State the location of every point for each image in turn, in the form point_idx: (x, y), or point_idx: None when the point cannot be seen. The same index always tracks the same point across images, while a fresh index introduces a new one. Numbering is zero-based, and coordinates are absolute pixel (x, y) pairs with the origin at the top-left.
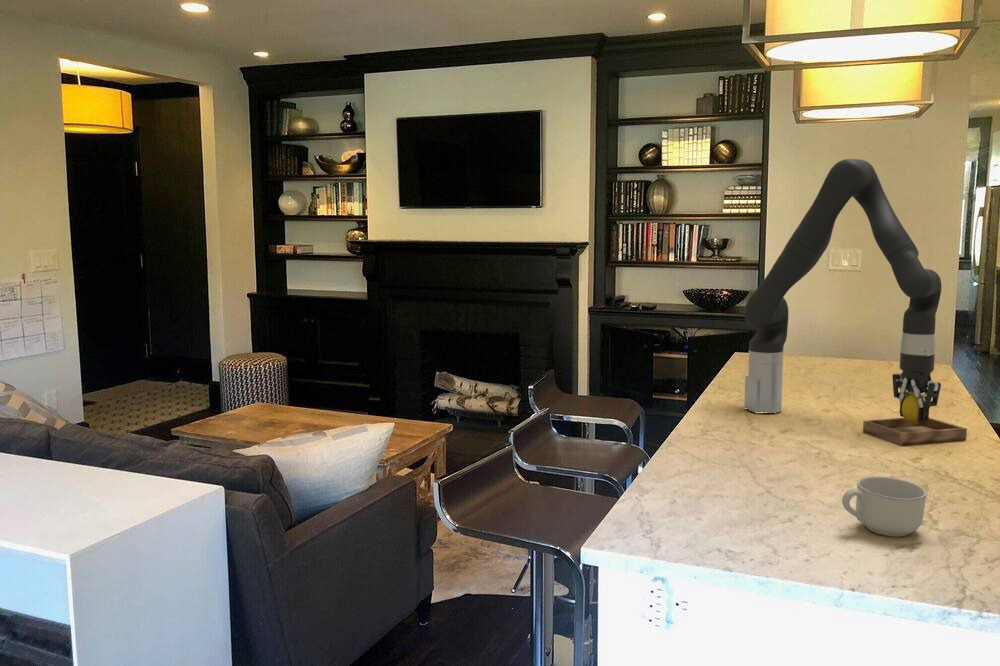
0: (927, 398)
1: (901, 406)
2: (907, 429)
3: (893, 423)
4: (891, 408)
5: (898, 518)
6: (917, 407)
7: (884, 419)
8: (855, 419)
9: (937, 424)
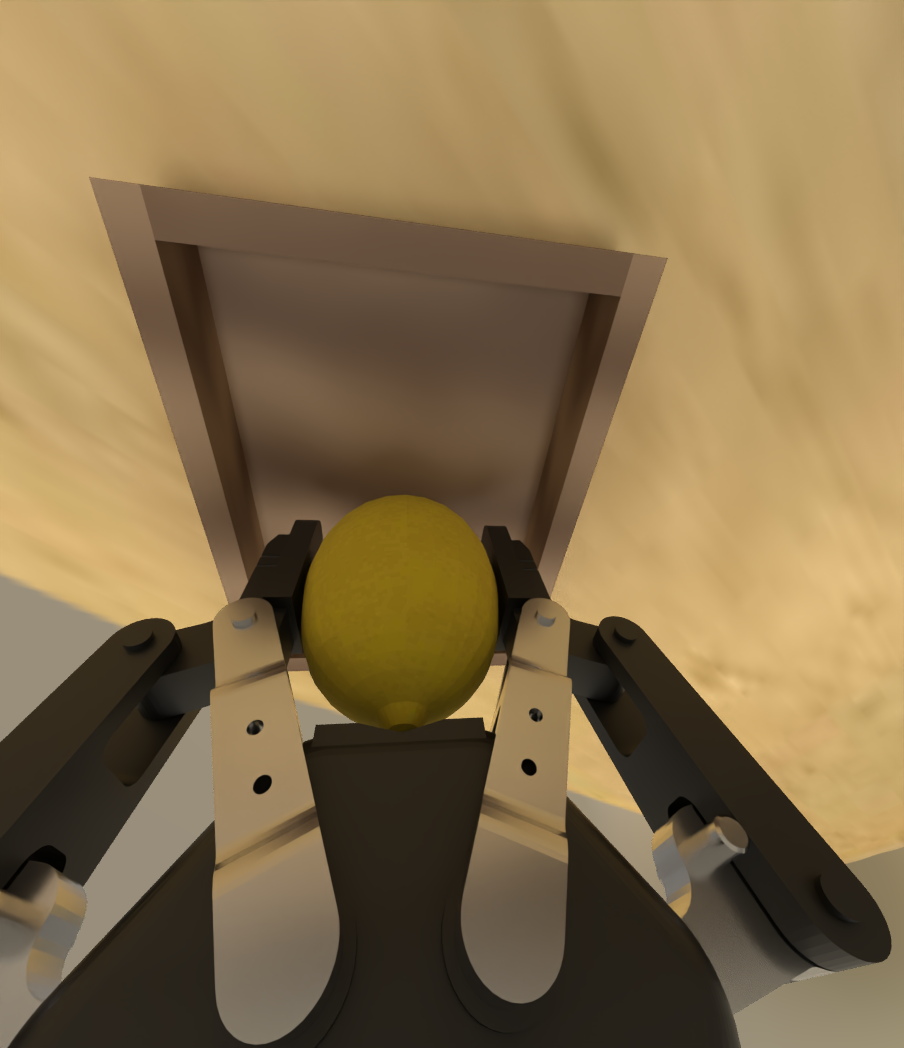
0: (86, 706)
1: (511, 570)
2: (480, 522)
3: (548, 495)
4: (752, 685)
5: None
6: (310, 592)
7: (589, 458)
8: (801, 475)
9: None
